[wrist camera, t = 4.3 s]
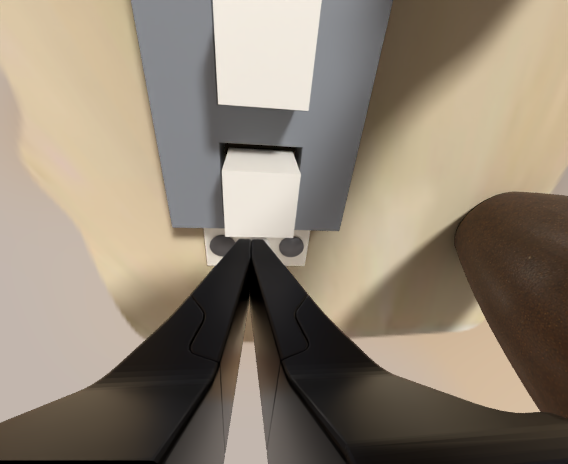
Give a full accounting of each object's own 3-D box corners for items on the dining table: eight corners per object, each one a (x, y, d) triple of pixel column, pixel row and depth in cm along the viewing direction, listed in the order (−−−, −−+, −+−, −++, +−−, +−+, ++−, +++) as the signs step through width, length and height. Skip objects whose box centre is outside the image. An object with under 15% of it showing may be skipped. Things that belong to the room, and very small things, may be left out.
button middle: (306, 9, 13) (322, -7, 10) (297, 99, 15) (308, 110, 12) (223, -1, 13) (211, -21, 9) (227, 93, 15) (218, 104, 11)
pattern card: (310, 223, 23) (311, 226, 22) (304, 263, 25) (305, 267, 25) (203, 220, 22) (202, 223, 21) (208, 263, 24) (207, 266, 24)
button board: (421, -244, 11) (471, -336, 8) (330, 211, 22) (339, 230, 20) (103, -320, 9) (46, -459, 7) (182, 207, 21) (172, 227, 18)
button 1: (292, 151, 17) (300, 174, 13) (287, 206, 19) (293, 237, 16) (228, 147, 16) (221, 170, 13) (231, 204, 19) (225, 236, 15)
